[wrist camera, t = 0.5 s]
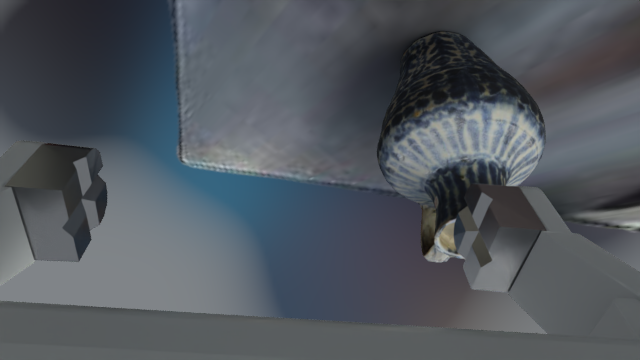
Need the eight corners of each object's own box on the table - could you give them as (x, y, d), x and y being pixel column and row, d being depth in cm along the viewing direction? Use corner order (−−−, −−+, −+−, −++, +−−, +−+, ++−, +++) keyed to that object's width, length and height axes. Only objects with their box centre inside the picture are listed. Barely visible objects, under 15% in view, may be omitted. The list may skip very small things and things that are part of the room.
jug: (389, -12, 59) (402, 174, 40) (540, 4, 59) (620, 194, 41) (363, 107, 75) (364, 278, 57) (482, 119, 76) (520, 292, 57)
